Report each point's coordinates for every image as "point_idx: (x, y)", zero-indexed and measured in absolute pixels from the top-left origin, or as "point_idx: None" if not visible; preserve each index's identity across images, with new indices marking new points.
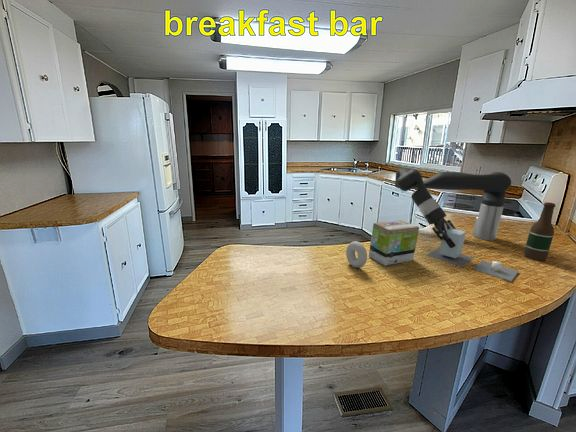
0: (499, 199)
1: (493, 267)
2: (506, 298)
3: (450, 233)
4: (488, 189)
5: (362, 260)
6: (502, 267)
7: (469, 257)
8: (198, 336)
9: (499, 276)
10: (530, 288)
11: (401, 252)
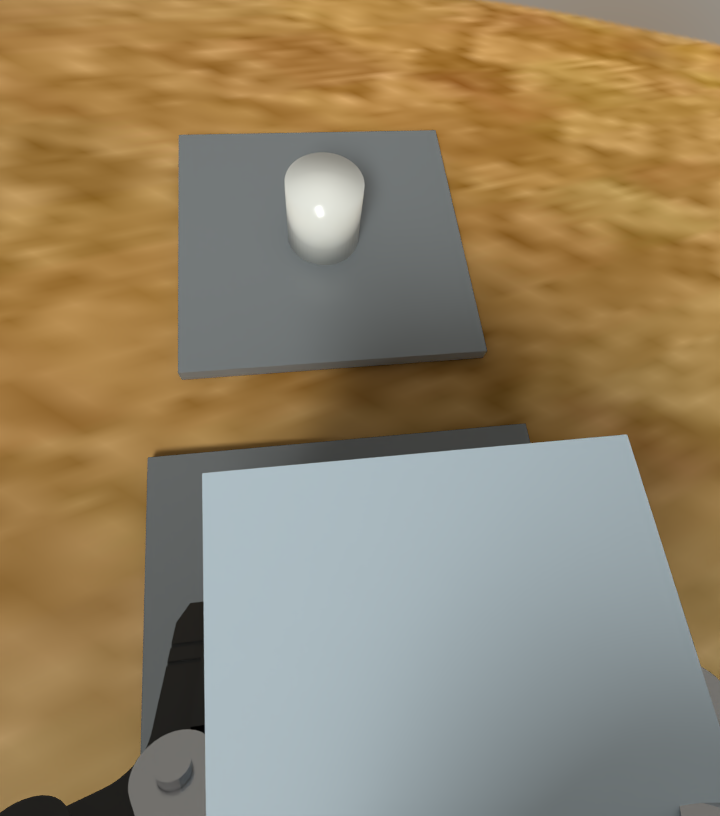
0: None
1: (359, 226)
2: (683, 114)
3: (687, 690)
4: None
5: None
6: (205, 219)
7: (184, 491)
8: None
9: (436, 188)
10: (409, 66)
11: None
